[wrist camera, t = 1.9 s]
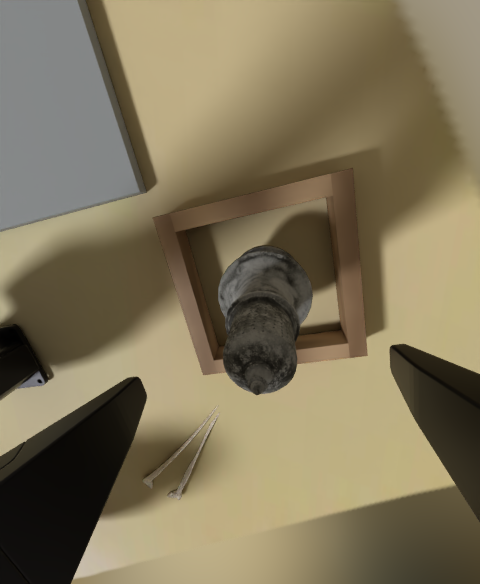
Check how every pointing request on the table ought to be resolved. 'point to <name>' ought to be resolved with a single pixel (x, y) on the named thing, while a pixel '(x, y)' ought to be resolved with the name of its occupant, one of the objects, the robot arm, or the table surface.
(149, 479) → the tweezers
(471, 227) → the table surface
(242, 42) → the table surface
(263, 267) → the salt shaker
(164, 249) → the frame
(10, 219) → the grey mat
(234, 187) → the table surface
